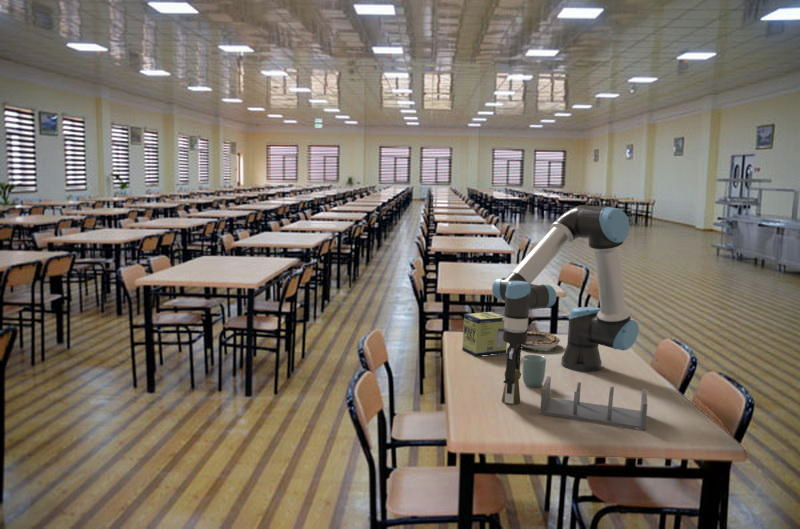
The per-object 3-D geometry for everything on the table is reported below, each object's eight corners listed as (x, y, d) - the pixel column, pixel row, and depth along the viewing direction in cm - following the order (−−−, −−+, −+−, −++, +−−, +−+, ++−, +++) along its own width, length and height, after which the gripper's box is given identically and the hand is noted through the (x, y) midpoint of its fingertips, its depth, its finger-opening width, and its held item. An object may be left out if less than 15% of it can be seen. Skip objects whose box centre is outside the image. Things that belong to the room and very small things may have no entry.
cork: (499, 398, 212) (501, 366, 211) (517, 398, 213) (519, 366, 211) (503, 405, 206) (506, 371, 205) (522, 405, 207) (524, 372, 205)
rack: (540, 414, 200) (541, 389, 198) (545, 399, 213) (547, 376, 212) (644, 430, 190) (647, 404, 189) (644, 414, 203) (646, 389, 202)
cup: (544, 390, 222) (546, 362, 221) (521, 387, 224) (523, 360, 222) (543, 383, 230) (545, 355, 228) (521, 380, 231) (523, 353, 230)
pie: (566, 341, 290) (567, 331, 289) (568, 359, 263) (569, 347, 263) (503, 336, 295) (503, 325, 295) (499, 353, 269) (500, 341, 268)
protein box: (461, 350, 268) (463, 313, 266) (492, 347, 275) (494, 311, 273) (475, 357, 259) (477, 319, 257) (507, 353, 266) (509, 316, 264)
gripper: (509, 321, 216) (505, 387, 220) (497, 335, 198) (493, 407, 201) (531, 324, 214) (527, 391, 217) (522, 338, 196) (517, 410, 199)
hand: (511, 398), depth 209 cm, fingers open, 7 cm apart
